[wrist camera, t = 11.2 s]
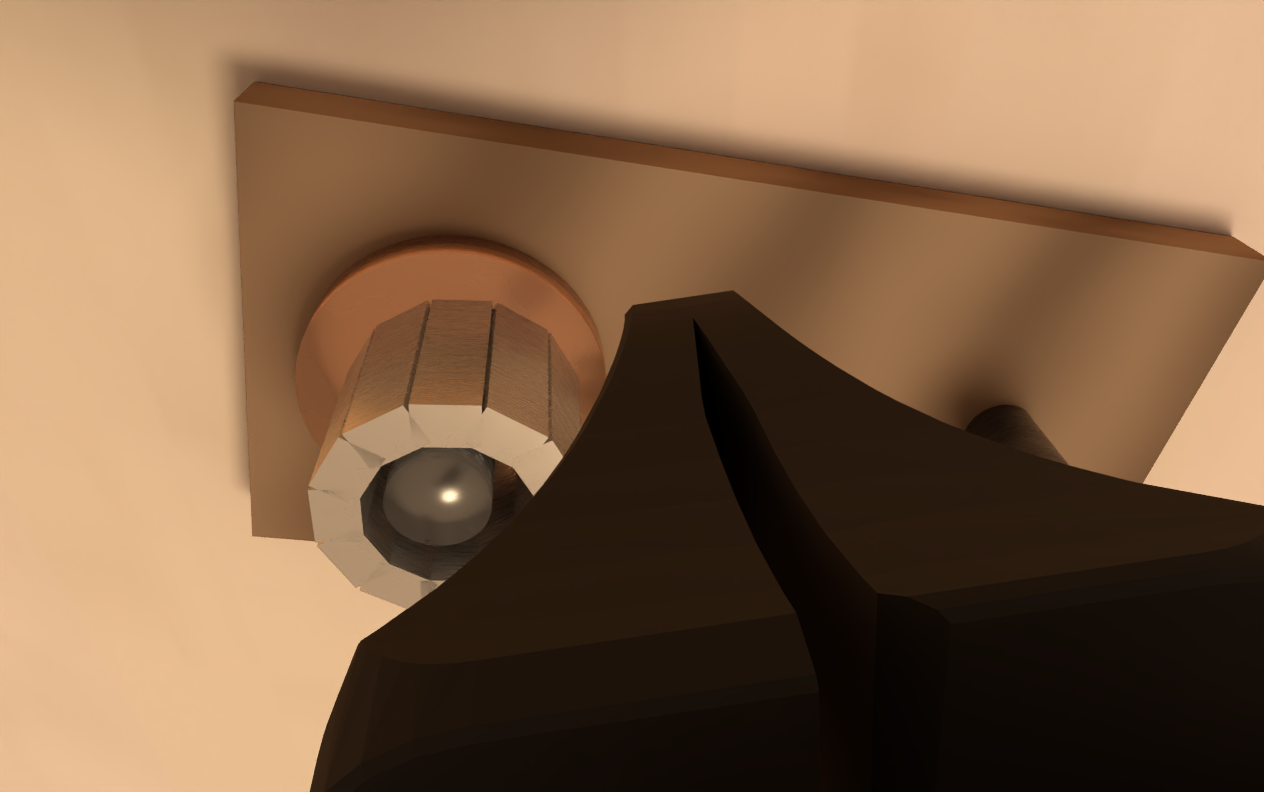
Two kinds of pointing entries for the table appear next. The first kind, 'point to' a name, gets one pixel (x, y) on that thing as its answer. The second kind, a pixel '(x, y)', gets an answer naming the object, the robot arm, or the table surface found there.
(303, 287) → the walnut board
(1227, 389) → the table surface
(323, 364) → the hub
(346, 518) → the steel collar
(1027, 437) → the stand rod
